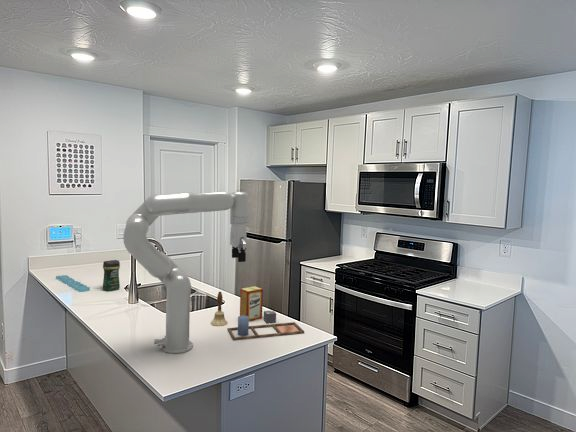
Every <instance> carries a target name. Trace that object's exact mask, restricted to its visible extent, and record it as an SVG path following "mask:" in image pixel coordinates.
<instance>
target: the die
mask: <svg viewBox="0 0 576 432" xmlns="http://www.w3.org/2000/svg"><path fill="white" fill-rule="evenodd" d="M263 322H264V323H265V325H268V324H269V323H270V324H277V312H276V311H274V310H273V309H271V310H264V311H263Z"/></svg>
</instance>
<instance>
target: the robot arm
mask: <svg viewBox="0 0 576 432" xmlns="http://www.w3.org/2000/svg"><path fill="white" fill-rule="evenodd" d="M248 206H249V195H248V192H245V191H233V192H229V191H224V190H223V191H222V190H219V191H216V192H207V193H206V192H205V193H199V192H177V193H163V194H158V193H154V194H151V195H149V196H148V197H147V198H146V199H145V201H144V202H143V203H142V204H141V205H140V206H139V207H138V208H137V209H136V210H135V211H134V212H132V214H131V215H129V217H128V218H127V220H126V223H125V227H124V231H123V237H122V239H123V244H124V247H125V249H126V251H127V252H128V253H129V254H130V255H131V256H132V257H133V258H134V259H135V260H136V261H137V262H138V264H139V265H141V266H142V267H143V268H144V269H145V270H146V272H148V273H149V274H150V275H151V276H152V277H154V278H156V279H158V280H159V281H160V282H161V283H163V285H164V286H165V288H166V297H165V298H166V299H165V300H166V301H165V335H164V337H162V338H161V339H160V338H159V339H158V338H156V339H154V340H153V344H154V345H157V346H161V350H162V351H163V352H165V353H169V354H182V353H186V352H188V351H191V350H192V349H193V348H194V343H193V342H192V341H191V340H190V323H191V322H190V320H191V319H190V318H191V317H190V316H191V315H190V313H191V311H190V310H191V308H190V307H191V291H192V283H191V280H190V278H189V276H188V275H187V273H185V271H184V270H183V269H182V268H181V267H179V265H178V264H176V263H175V262H174V261H173V260H172V258H170V257H169V256H168V255H167V254H166V253H165V252H163V251H159V249H157V247H155V246H154V244H152V243H151V242H150V241H149V240H148V237H147V234H148V231H149V229H150V226H151V225H152V224H153V223H154V222H155V221H156V220H157V219H158V218H159V216H162V217H163V216H171V215H181V214H182V215H184V214H196V213H209V212H220V211H221V212H222V211H228V210H229V212H230V213H229V215H230V216H229V224H230V232H229V236H230V237H229V245H230V246H231V258H232V259H236V258H237V262H238V263H244V262H246V258H247V257H246V252H247V251H246V250H247V225H248V224H249V223H248V221H249V220H248V218H249V216H248V214H249V211H248V210H249V207H248Z"/></svg>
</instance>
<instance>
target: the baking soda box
mask: <svg viewBox="0 0 576 432" xmlns="http://www.w3.org/2000/svg"><path fill="white" fill-rule="evenodd" d="M263 294H264V289H263V288H261V287H258V286H256V285H255V286H249V287H244V288H243V287H242V288H240V294H239V295H240V297H239V316H242V315H245V316H248V317H249V322H253V321H258V320H261V319H262V320H263V304H264V303H263V300H264V298H263V297H264V295H263Z"/></svg>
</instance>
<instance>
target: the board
mask: <svg viewBox="0 0 576 432" xmlns="http://www.w3.org/2000/svg"><path fill="white" fill-rule="evenodd" d="M264 328H265V329H266V328H272V329H274V331H275V332H276V333H275V332H274V333H266V334H265V333H264V334H259V333H258V332H257V330H256V329H264ZM249 330H251V332H252V333H253V334H254V335H247V336H235V335H234V333H233V332H234V331H238V326H236V327H227V333H229V336H230V337H231V340H232V341H243V340H252V339H261V338H262V339H263V338H271V337H280V336H282V337H283V336H292V335H301V334H302V335H303V334H305V330H304V329H302V327H300V325H298V323H296V322H295V321H293V322H282V323H281V322H280V323H270V324H260V325H259V324H258V325H249ZM232 331H233V332H232Z"/></svg>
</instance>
